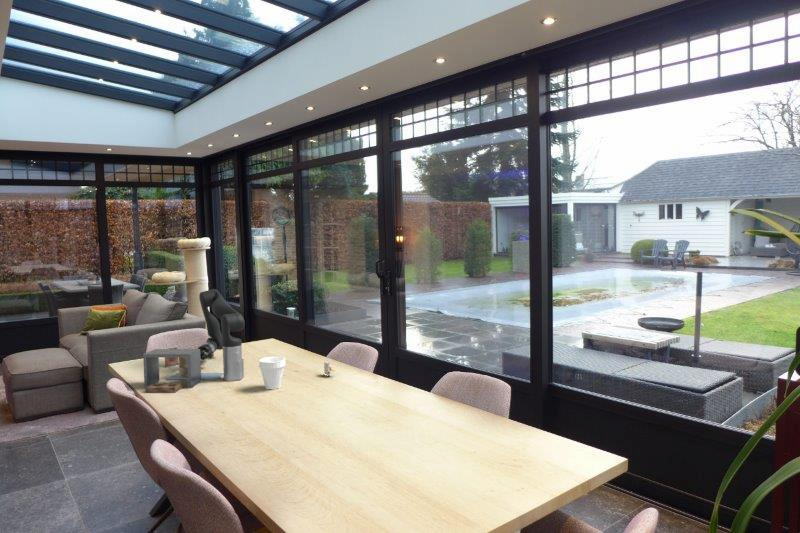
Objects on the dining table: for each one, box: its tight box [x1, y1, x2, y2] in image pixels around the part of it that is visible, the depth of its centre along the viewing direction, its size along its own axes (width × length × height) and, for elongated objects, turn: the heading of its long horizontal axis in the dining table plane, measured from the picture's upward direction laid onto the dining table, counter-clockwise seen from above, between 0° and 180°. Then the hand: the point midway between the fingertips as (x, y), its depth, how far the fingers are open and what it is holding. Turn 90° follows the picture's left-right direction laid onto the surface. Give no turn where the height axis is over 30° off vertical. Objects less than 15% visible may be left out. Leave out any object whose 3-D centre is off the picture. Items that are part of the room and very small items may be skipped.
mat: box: [165, 372, 224, 381], centre depth 291 cm, size 26×12×1 cm, turn 87°
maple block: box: [178, 357, 188, 378], centre depth 290 cm, size 4×4×11 cm
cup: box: [258, 356, 286, 390], centre depth 268 cm, size 12×12×14 cm
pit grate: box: [145, 382, 183, 394], centre depth 266 cm, size 14×7×2 cm, turn 87°
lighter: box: [164, 347, 179, 368], centre depth 316 cm, size 8×3×10 cm, turn 143°
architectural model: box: [323, 361, 336, 376], centre depth 289 cm, size 3×7×7 cm, turn 28°
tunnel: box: [142, 348, 202, 389], centre depth 276 cm, size 23×12×16 cm, turn 87°
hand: (194, 358), depth 301 cm, fingers open, 8 cm apart
